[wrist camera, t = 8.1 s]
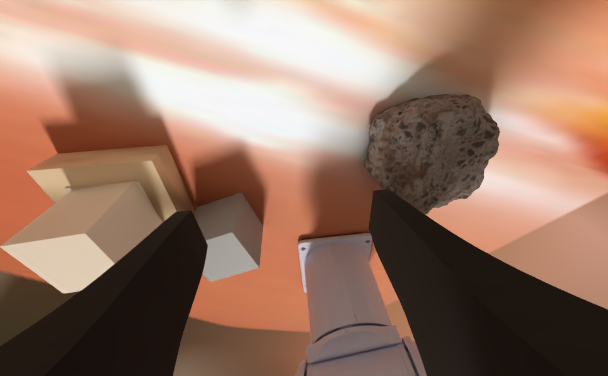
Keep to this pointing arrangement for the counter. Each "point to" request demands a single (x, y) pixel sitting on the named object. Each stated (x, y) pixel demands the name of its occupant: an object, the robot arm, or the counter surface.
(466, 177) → the rock
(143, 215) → the ivory cube
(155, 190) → the maple slab
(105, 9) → the counter surface
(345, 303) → the robot arm
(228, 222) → the slate cube
